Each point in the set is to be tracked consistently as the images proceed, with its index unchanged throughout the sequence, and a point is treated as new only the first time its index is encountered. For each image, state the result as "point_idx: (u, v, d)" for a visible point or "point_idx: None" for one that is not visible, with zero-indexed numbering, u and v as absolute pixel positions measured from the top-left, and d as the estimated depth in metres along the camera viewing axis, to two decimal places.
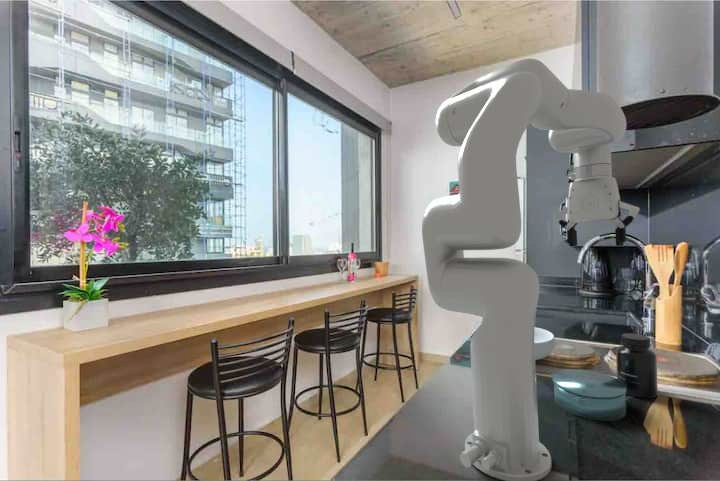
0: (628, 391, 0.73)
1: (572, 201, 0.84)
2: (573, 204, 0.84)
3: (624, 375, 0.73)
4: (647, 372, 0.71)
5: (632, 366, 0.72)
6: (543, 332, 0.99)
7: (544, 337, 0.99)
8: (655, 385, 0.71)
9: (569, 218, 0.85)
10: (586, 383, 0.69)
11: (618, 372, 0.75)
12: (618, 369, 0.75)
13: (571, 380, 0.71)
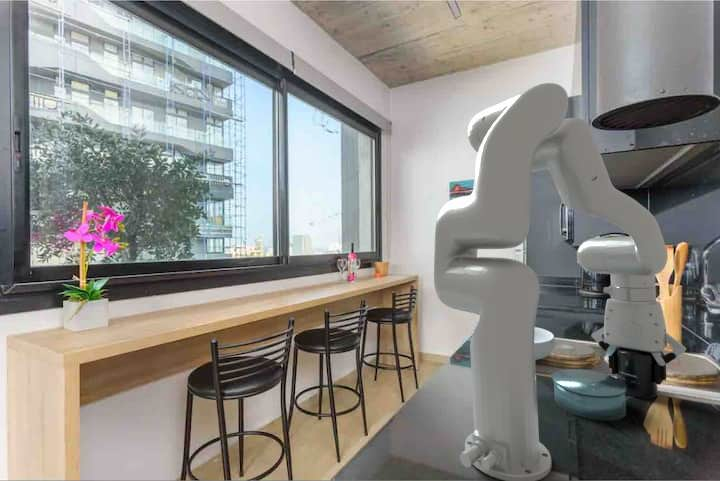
0: (628, 391, 0.73)
1: (610, 322, 0.75)
2: (611, 325, 0.75)
3: (624, 375, 0.73)
4: (647, 371, 0.71)
5: (632, 365, 0.72)
6: (543, 332, 0.99)
7: (544, 337, 0.99)
8: (655, 385, 0.71)
9: (606, 340, 0.76)
10: (586, 382, 0.69)
11: (618, 372, 0.75)
12: (618, 369, 0.75)
13: (571, 379, 0.71)
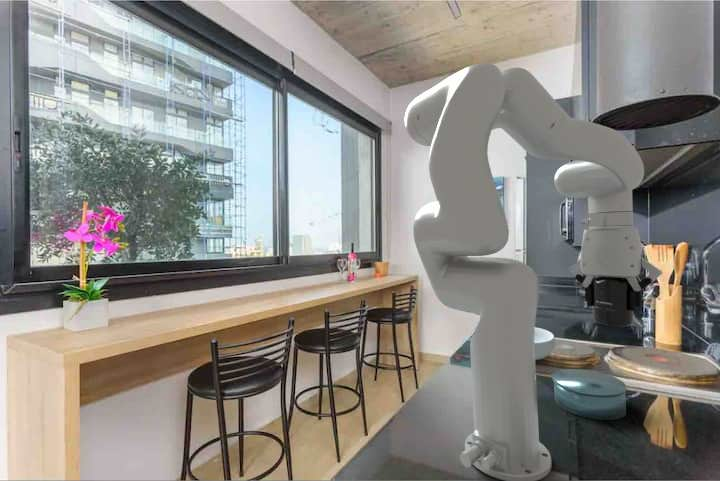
0: (603, 320, 0.71)
1: (586, 251, 0.73)
2: (587, 255, 0.73)
3: (599, 304, 0.71)
4: (623, 298, 0.69)
5: (607, 293, 0.70)
6: (543, 332, 0.99)
7: (544, 337, 0.99)
8: (631, 313, 0.69)
9: (582, 270, 0.74)
10: (587, 382, 0.69)
11: (594, 302, 0.73)
12: (594, 299, 0.73)
13: (571, 379, 0.70)
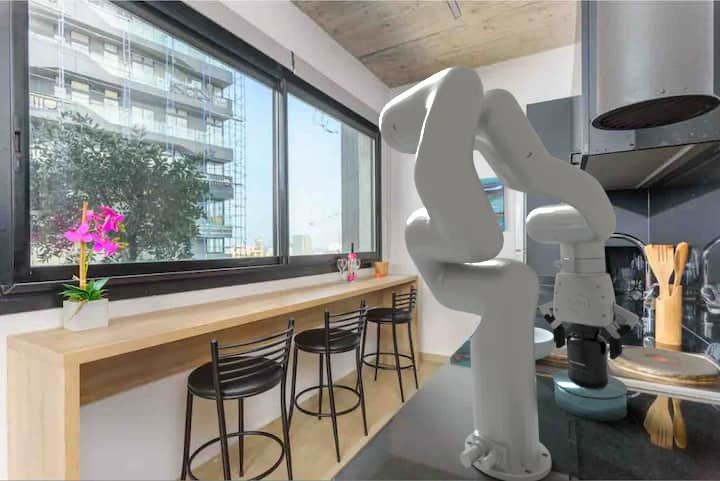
0: (577, 381, 0.68)
1: (559, 297, 0.71)
2: (560, 300, 0.71)
3: (573, 364, 0.69)
4: (596, 360, 0.66)
5: (581, 354, 0.67)
6: (543, 332, 0.99)
7: (544, 337, 0.99)
8: (605, 374, 0.67)
9: (555, 316, 0.72)
10: None
11: (568, 361, 0.70)
12: (568, 358, 0.70)
13: None
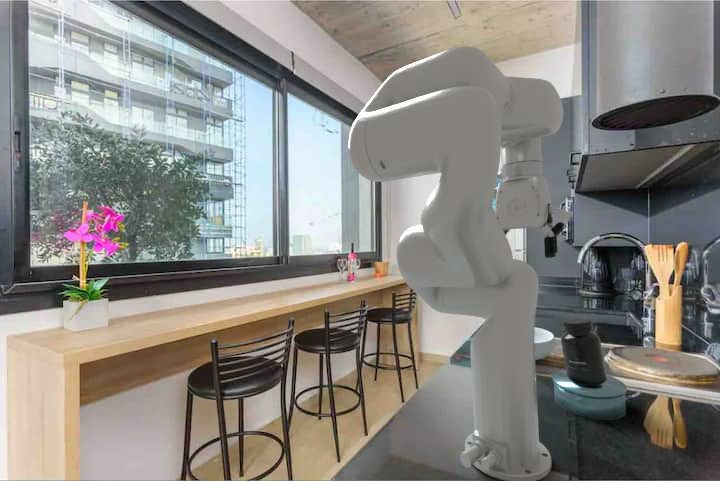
0: (580, 380, 0.68)
1: (499, 205, 0.73)
2: (500, 208, 0.72)
3: (573, 364, 0.68)
4: (595, 356, 0.67)
5: (580, 352, 0.67)
6: (543, 332, 0.99)
7: (544, 337, 0.99)
8: (604, 368, 0.67)
9: None
10: None
11: (567, 362, 0.70)
12: (566, 358, 0.70)
13: None
